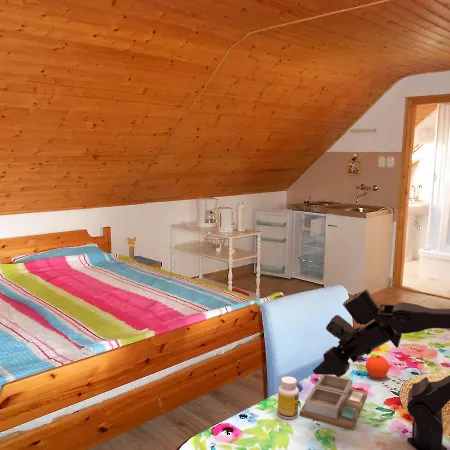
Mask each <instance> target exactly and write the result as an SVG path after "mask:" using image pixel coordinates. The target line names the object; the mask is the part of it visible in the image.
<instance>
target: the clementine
mask: <svg viewBox="0 0 450 450" xmlns="http://www.w3.org/2000/svg"><path fill="white" fill-rule="evenodd" d="M368 356H369V357H368V358H367V356H365V357H364V358H365V359H366V358H367V360H366V362H365V370H366V372H367V373H368V375H369V376H371V377H372V378H375V379H382V378H385V376H387V375H388V373H389V369H390V364H389V361H388V360H387V358H386V357H384V356H382V355H380V354H376V353H370V354H368Z"/></svg>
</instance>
